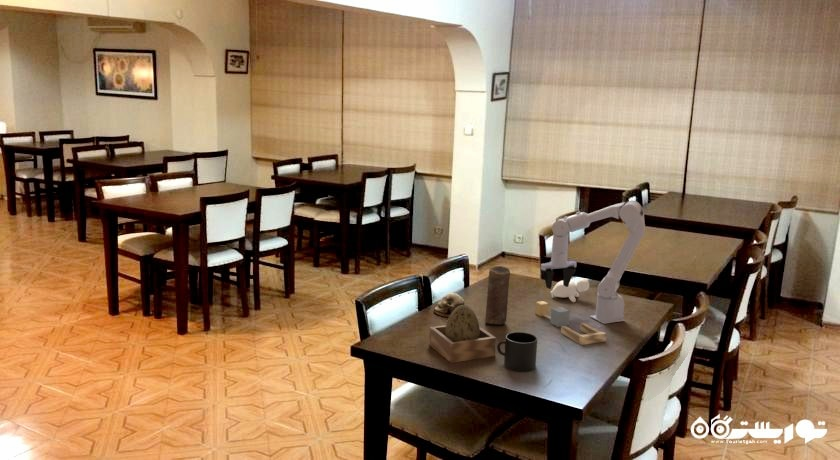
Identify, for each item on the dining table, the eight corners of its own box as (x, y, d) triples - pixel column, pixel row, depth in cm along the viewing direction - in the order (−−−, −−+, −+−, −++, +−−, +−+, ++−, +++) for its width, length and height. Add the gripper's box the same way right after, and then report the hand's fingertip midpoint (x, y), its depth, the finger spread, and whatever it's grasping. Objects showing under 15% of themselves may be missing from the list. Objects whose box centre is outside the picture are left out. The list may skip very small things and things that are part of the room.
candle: (508, 321, 249) (511, 267, 245) (504, 328, 243) (507, 272, 238) (487, 318, 252) (490, 264, 248) (482, 325, 245) (485, 270, 241)
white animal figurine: (553, 306, 277) (590, 298, 271) (547, 286, 277) (584, 277, 270) (558, 300, 285) (594, 292, 278) (552, 281, 284) (587, 272, 278)
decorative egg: (468, 359, 215) (470, 313, 212) (438, 351, 220) (439, 306, 217) (484, 348, 224) (486, 304, 220) (455, 341, 229) (456, 297, 226)
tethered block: (544, 312, 261) (545, 298, 259) (568, 325, 247) (569, 310, 246) (533, 313, 259) (534, 299, 258) (557, 327, 245) (558, 312, 244)
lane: (583, 329, 244) (584, 322, 243) (605, 341, 233) (606, 333, 233) (560, 333, 240) (561, 325, 239) (581, 345, 229) (582, 336, 229)
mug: (500, 356, 218) (502, 328, 216) (538, 362, 214) (540, 334, 212) (491, 367, 210) (493, 338, 208) (531, 374, 205) (533, 345, 203)
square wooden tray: (471, 338, 232) (472, 321, 231) (495, 355, 218) (496, 337, 217) (429, 344, 226) (429, 327, 224) (450, 362, 212) (451, 344, 211)
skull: (429, 314, 252) (434, 288, 257) (434, 325, 261) (439, 300, 266) (462, 317, 249) (466, 291, 254) (466, 328, 258) (470, 303, 263)
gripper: (569, 247, 264) (566, 282, 267) (537, 250, 258) (534, 285, 261) (581, 251, 258) (578, 287, 260) (548, 255, 252) (545, 291, 255)
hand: (557, 287), depth 260 cm, fingers open, 7 cm apart
